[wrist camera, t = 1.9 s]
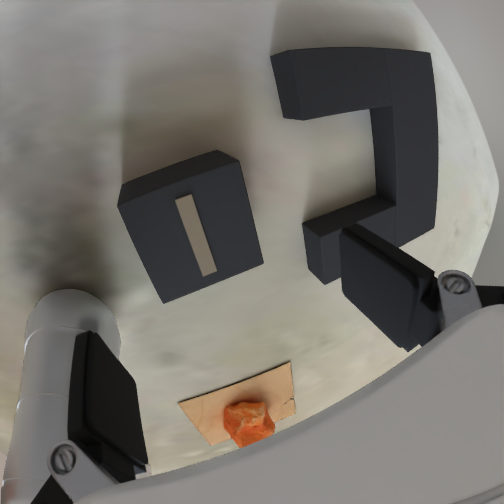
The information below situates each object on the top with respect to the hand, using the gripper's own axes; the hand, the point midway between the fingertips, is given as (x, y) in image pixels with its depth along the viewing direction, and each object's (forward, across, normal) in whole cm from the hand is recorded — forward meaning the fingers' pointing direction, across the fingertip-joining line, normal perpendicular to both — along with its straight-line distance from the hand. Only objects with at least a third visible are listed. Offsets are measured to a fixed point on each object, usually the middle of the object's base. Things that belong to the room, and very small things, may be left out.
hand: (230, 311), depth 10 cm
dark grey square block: (+9, 0, -1) cm, 9 cm away
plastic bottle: (+10, +10, +3) cm, 14 cm away
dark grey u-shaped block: (+9, -14, -1) cm, 17 cm away
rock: (+10, +2, +23) cm, 26 cm away
